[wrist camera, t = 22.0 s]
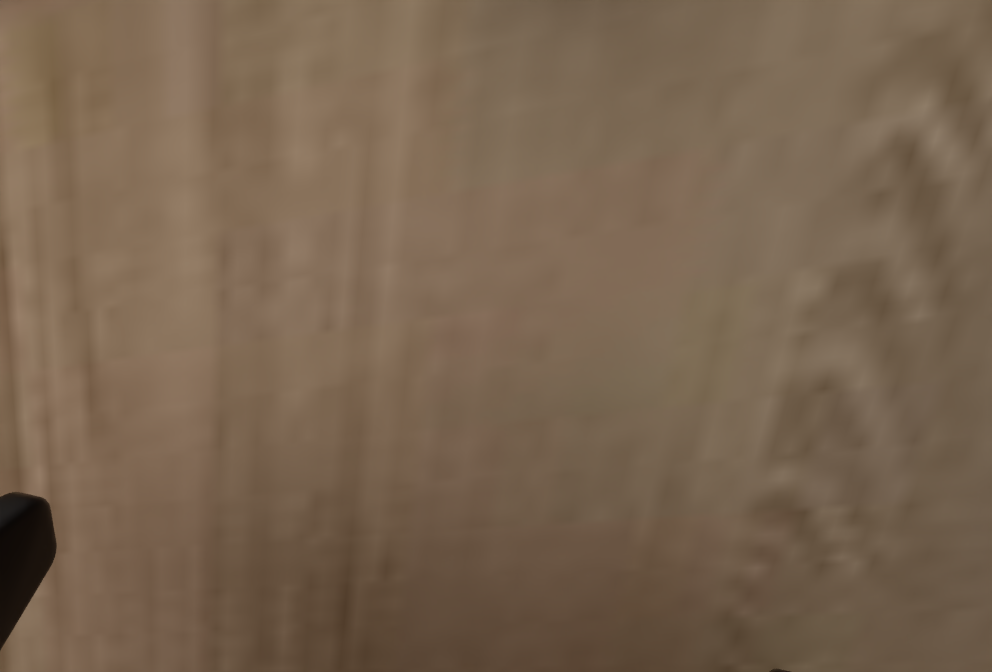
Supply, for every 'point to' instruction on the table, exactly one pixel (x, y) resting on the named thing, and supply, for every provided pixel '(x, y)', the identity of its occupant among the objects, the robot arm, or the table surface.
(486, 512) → the table surface
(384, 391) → the table surface
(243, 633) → the table surface
